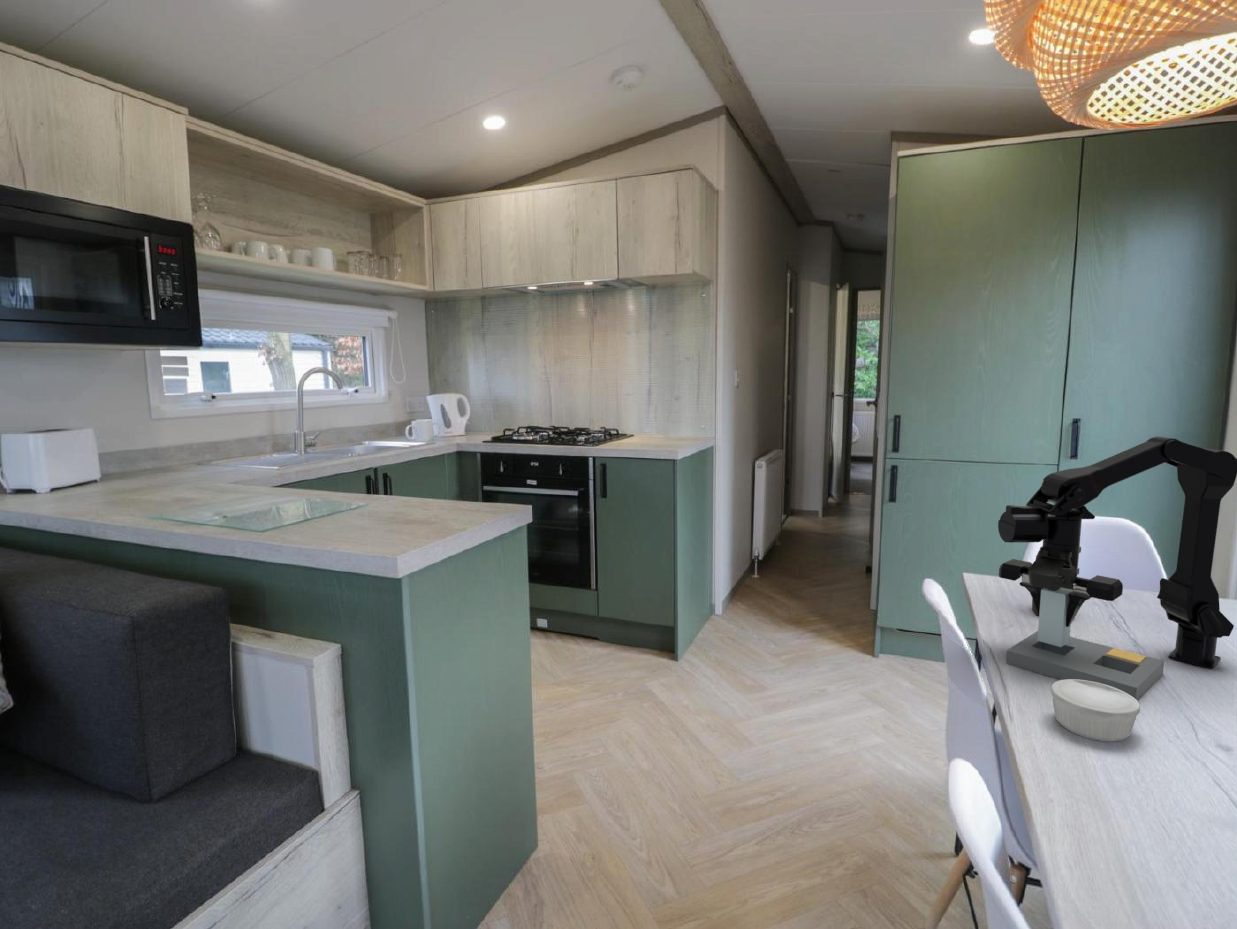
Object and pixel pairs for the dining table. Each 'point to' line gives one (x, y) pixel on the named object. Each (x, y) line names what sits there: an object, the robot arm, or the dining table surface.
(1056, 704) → the ramekin
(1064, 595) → the plug
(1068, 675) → the socket panel
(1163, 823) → the dining table surface
